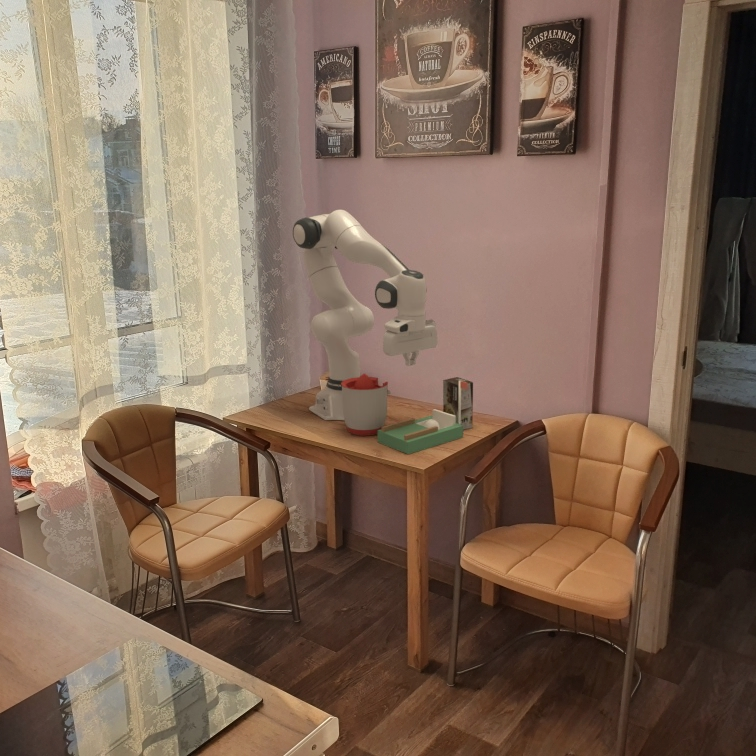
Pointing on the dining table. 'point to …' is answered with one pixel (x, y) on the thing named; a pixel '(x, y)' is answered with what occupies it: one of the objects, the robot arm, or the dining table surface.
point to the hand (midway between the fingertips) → (410, 364)
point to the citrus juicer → (364, 405)
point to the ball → (431, 424)
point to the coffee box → (453, 397)
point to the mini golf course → (423, 430)
